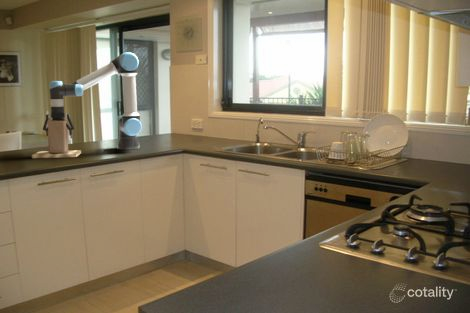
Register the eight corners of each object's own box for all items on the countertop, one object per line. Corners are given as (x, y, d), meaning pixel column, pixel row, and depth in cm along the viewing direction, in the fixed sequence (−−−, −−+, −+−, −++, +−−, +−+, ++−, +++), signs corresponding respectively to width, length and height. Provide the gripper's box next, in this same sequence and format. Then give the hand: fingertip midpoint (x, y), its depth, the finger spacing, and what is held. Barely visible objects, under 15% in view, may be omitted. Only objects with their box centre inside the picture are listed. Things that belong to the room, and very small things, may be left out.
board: (81, 153, 297) (80, 150, 296) (76, 157, 281) (76, 153, 281) (39, 154, 293) (38, 151, 292) (32, 158, 277) (31, 154, 277)
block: (65, 153, 282) (64, 121, 279) (48, 153, 280) (47, 120, 278) (68, 151, 292) (67, 120, 289) (52, 151, 290) (51, 119, 287)
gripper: (78, 105, 288) (80, 139, 291) (39, 106, 284) (41, 140, 288) (75, 106, 280) (77, 141, 284) (35, 106, 277) (38, 142, 280)
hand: (59, 141), depth 286 cm, fingers open, 11 cm apart
